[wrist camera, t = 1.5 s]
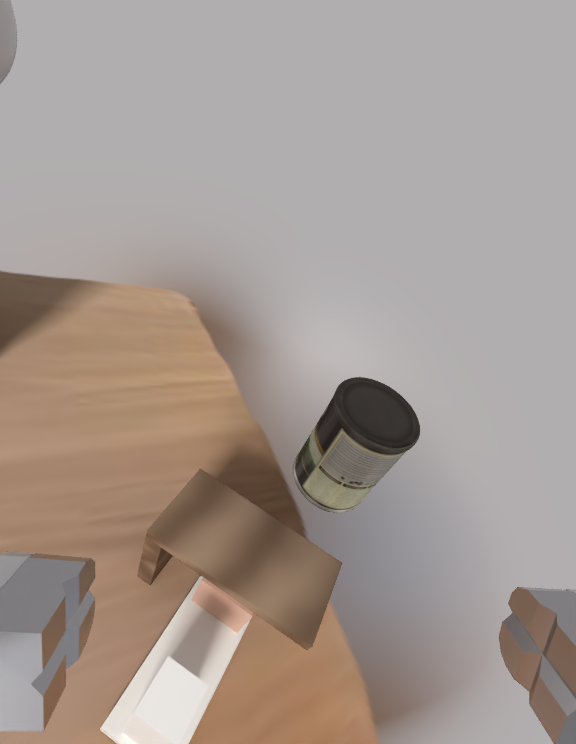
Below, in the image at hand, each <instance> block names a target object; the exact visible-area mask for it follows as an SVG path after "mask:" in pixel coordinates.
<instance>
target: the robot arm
mask: <svg viewBox="0 0 576 744" xmlns="http://www.w3.org/2000/svg"><path fill="white" fill-rule="evenodd" d="M16 47H17V29H16V21H15V16H14V11H13V7H12V4H11V1H10V0H0V84H1V83H2V81H3V80H4V79H5V78H6V76H7V75H8V73H9V72H10V69H11V67H12V65H13V61H14V58H15V54H16ZM94 579H95V562H94V561H93V560H92V559H91V558H81V557H70V556H59V555H48V554H37V553H36V554H31V553H20V552H9V551H6V552H4V553H2V554H0V731H44V729H45V727H46V725H47V723H48V721H49V719H50V717H51V715H52V713H53V711H54V709H55V707H56V705H57V703H58V701H59V699H60V697H61V695H62V693H63V691H64V688H65V686H66V669H67V668H68V667H69V666H71V665H72V664H73V663H75V662H76V661H77V660H78V659H79V657H80V655H81V653H82V651H83V649H84V647H85V645H86V642H87V639H88V636H89V633H90V629H91V626H92V622H93V616H94V610H95V598H94V596H93V595H92V594H91V593H90V591H89V588H90V586H91V584H92V582H93V581H94ZM508 604H509V606H510V608H511V610H512V614H511V615H510V616H509V617H508V618H506V619H505V620H504V621H503V622H502V626H501V630H500V634H499V641H500V649H501V654H502V657H503V659H504V662H505V665H506V667H507V668H508V670H509V672H510V673H511V675H512V677H513V678H514V680H516V681H517V682H518V683H519V684H521V685H522V686H523V687H524V688H525V689H527V690H528V691H529V692H530V693H529V696H530V697H529V700H530V701H529V704H530V706H531V708H532V709H533V711H534V712H535V714H536V715H537V717H538V719H539V720H540V722H541V724H542V725H543V727H544V728H545V730H546V732H547V733H548V735H549V736H550V738H551V740H552V741H553V743H554V744H576V590H569V589H566V590H559V589H558V590H557V589H542V588H525V587H517V588H516V589H515V590H514V591H513V592H512V594H511V597H510V600H509V603H508Z"/></svg>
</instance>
